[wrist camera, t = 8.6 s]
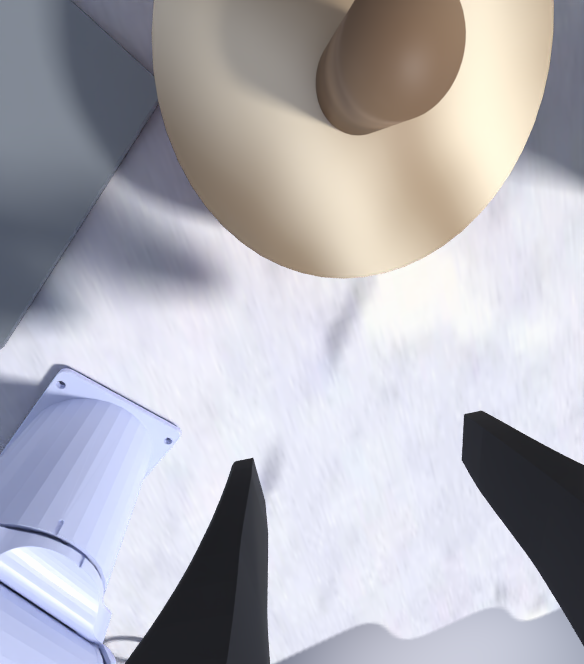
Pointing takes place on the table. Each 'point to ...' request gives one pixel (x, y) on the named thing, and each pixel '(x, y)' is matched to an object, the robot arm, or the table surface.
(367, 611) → the table surface
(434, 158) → the lid
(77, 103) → the mat
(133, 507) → the robot arm
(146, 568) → the table surface
